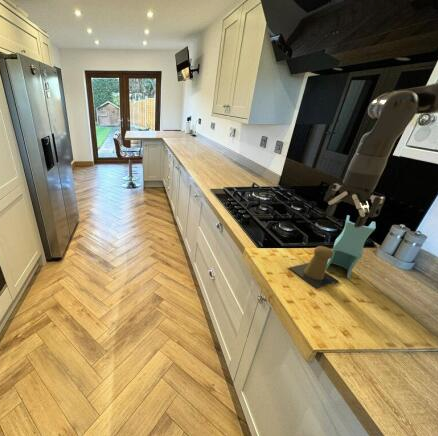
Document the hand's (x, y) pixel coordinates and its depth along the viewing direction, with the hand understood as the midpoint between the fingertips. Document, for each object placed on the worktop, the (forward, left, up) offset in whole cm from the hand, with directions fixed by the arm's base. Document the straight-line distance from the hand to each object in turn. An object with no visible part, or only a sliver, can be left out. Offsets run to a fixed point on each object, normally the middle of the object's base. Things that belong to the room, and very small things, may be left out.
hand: (342, 220), depth 74 cm
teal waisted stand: (-12, -1, -23) cm, 26 cm away
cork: (+1, -1, -22) cm, 22 cm away
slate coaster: (+1, -1, -23) cm, 23 cm away
